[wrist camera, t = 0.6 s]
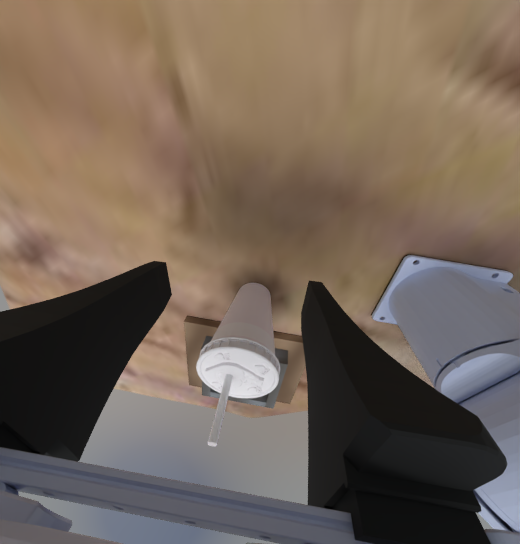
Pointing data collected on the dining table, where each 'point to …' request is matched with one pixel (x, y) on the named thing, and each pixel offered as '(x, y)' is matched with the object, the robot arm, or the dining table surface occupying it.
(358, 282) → the dining table surface
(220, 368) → the smoothie
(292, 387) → the bottle stand
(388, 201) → the dining table surface
